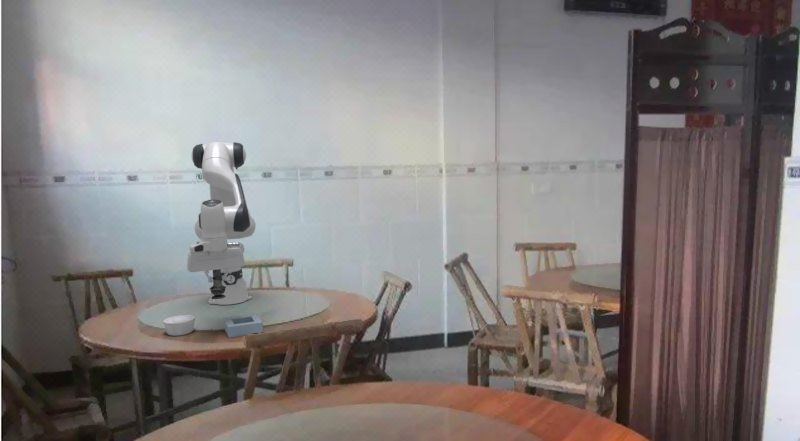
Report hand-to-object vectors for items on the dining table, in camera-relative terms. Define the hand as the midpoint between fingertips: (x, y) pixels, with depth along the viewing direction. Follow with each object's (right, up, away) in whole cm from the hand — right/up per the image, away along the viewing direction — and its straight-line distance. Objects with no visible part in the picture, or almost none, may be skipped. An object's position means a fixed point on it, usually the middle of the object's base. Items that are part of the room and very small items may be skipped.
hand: (217, 281), depth 230 cm
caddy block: (+8, -19, +5) cm, 22 cm away
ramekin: (-16, -20, +6) cm, 26 cm away
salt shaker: (0, -6, +1) cm, 6 cm away
